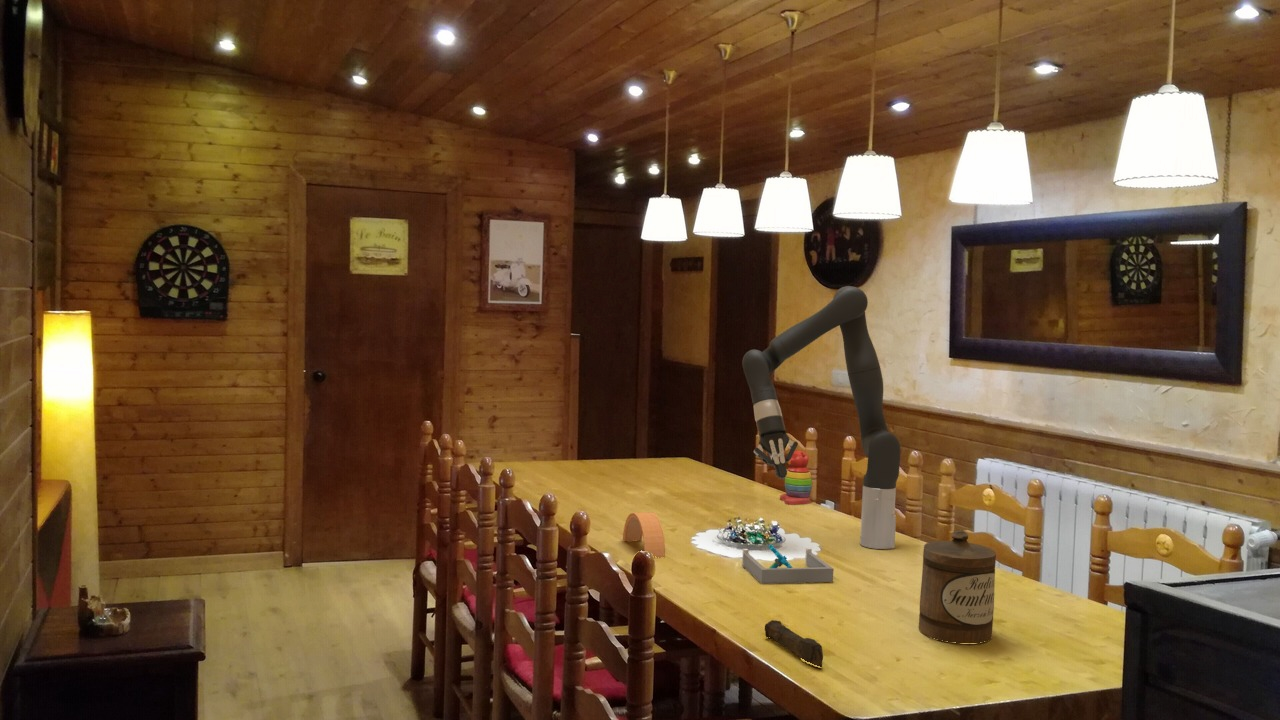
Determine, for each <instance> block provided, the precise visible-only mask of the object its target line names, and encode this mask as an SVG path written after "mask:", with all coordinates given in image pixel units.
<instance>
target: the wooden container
mask: <svg viewBox="0 0 1280 720" xmlns="http://www.w3.org/2000/svg"><path fill="white" fill-rule="evenodd" d="M950 536H951V538H952V540H935V541H929V542H927V543H925V544H924V545H923V551H922V574H921V582H920V583H921V586H920V595H919V596H920V597H919V615H918V616H919V617H918V631H919V632H920V633H921V634H923V635H924V634H925V636H926V635H927V636H926V637H928V636H929V638H930V637H932V638H931V639H933V638H935V639H934V640H936V639H938V640H937V641H939V640H943V641H948V642H956V643H980V642H984V641H988V640H989V641H991V640H992V638H993V627H994V625H993V624H994V623H993V622H994V614H995V613H994V610H995V587H996V586H995V584H996V582H995V581H996V563H997V562H996V559H997V558H996V557H997V553H996V551H995V550H994V549H992V548H990V547H988V546H985V545H981V544H977V543H973V542H969V541H967V540H968V539H969V534H968V533H967V532H966V531H964V530H959V529H956V530H955V531H953V532H952V533H951V535H950ZM991 637H992V638H991ZM990 639H991V640H990ZM943 641H942V642H943ZM989 641H988V642H989ZM948 642H947V643H948Z"/></svg>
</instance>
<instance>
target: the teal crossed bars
mask: <svg viewBox="0 0 1280 720" xmlns="http://www.w3.org/2000/svg"><path fill="white" fill-rule="evenodd" d="M767 546H768V548H769V549H770V551H771V552H772V553H773V555H775V556H776V558H775V559H774V562H773V563H772V564H771V565H770V566H769V567H768V568H781V567H782V566H783V565H784V566H785V568H794V567H793V566H792V565H791V563H789V561H787V559H788V558H787V556H786V555H783V554H781V553H780V552H779V551H778V549H776V548H775V547H774V545H773V544H769V545H767Z"/></svg>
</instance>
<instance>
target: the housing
mask: <svg viewBox="0 0 1280 720" xmlns="http://www.w3.org/2000/svg"><path fill="white" fill-rule="evenodd" d="M812 550H813V549H812V548H811V547H806V548H805V557H804V558H805V561H804V562H805V563H804V565H805V566H806V565H807V567H793V568H787V567H777V568H769V567H764V566H763V565H762V564H761V563H760V562H759V561H758V560H757V559H755V558H754V557H753V556H752V555H751V554H750V552H749V551H750V550H749V549H748V548H742V560H741V561H742V563H741V566H742V568H744V570H746V571H747V572H748V573H749V574H750V575H752V576H753V577H754V579H755V580H757V581H758V582H759V583H760V584H762V585H763V584H764V585H765V584H766V585H770V584H771V585H774V584H777V585H778V584H779V583H781V584H806V583H805V582H812V583H811V584H814V583H813V582H831V583H833V582H834V567H832V566H831V565H830V564H828V563H827V562H825V560H823V559H822V558H820V557H818V556H817V555H816V554H815V553H813V552H812Z"/></svg>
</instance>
